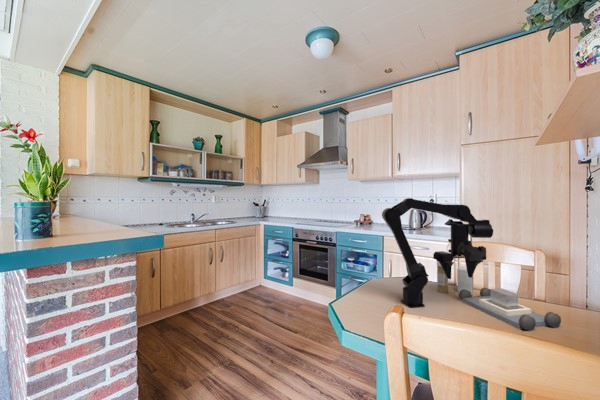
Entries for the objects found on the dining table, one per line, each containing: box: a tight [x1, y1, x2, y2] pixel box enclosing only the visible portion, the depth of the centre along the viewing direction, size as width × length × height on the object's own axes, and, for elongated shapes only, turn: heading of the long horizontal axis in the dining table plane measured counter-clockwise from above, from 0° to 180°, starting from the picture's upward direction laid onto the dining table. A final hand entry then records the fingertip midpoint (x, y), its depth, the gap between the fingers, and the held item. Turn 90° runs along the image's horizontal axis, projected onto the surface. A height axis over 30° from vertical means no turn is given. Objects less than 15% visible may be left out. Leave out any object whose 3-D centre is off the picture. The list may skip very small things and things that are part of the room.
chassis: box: [458, 287, 562, 332], centre depth 92 cm, size 14×25×4 cm, turn 11°
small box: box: [456, 265, 474, 296], centre depth 114 cm, size 8×6×10 cm
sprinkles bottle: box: [436, 261, 449, 294], centre depth 114 cm, size 5×5×14 cm
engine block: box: [489, 288, 519, 310], centre depth 92 cm, size 5×6×6 cm
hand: (459, 278), depth 97 cm, fingers open, 9 cm apart
